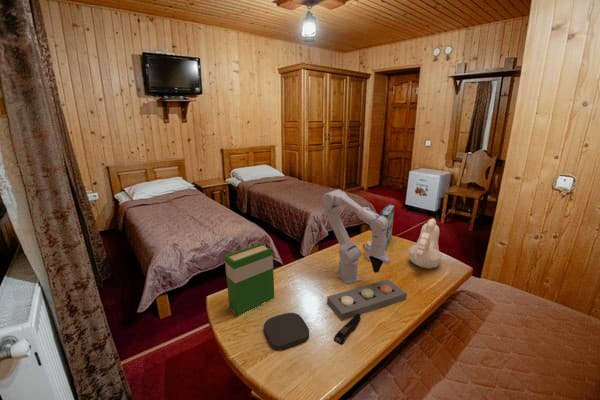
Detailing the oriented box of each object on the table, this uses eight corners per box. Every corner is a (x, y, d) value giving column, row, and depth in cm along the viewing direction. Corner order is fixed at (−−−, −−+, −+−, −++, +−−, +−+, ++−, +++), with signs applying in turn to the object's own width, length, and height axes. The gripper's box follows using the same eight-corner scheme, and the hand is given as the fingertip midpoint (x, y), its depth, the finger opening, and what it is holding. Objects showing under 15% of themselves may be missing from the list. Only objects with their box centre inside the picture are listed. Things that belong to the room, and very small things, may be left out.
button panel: (327, 302, 120) (327, 296, 120) (387, 284, 133) (387, 279, 132) (342, 320, 110) (342, 313, 109) (406, 299, 122) (406, 293, 121)
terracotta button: (377, 290, 126) (377, 286, 125) (386, 288, 128) (386, 283, 127) (385, 297, 122) (385, 292, 121) (394, 294, 124) (394, 289, 123)
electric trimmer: (362, 322, 110) (363, 315, 109) (342, 346, 98) (342, 338, 97) (354, 318, 112) (354, 311, 111) (332, 340, 100) (333, 333, 99)
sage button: (358, 294, 122) (359, 290, 121) (368, 292, 124) (368, 287, 123) (365, 301, 118) (366, 296, 117) (375, 298, 119) (376, 293, 119)
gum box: (383, 238, 183) (386, 204, 177) (391, 239, 181) (395, 205, 174) (376, 250, 167) (378, 213, 160) (384, 252, 164) (387, 214, 158)
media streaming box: (273, 354, 95) (273, 347, 94) (261, 326, 108) (261, 319, 107) (312, 340, 101) (313, 333, 100) (296, 315, 113) (296, 309, 113)
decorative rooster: (417, 253, 162) (421, 212, 155) (445, 263, 151) (452, 219, 144) (394, 269, 146) (398, 224, 139) (424, 281, 135) (431, 233, 128)
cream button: (338, 302, 118) (338, 297, 118) (348, 299, 120) (349, 294, 120) (345, 309, 114) (345, 304, 113) (355, 306, 116) (355, 301, 115)
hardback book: (265, 290, 129) (262, 242, 122) (274, 298, 124) (272, 248, 117) (229, 307, 118) (224, 255, 111) (238, 316, 113) (233, 262, 106)
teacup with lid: (385, 258, 157) (387, 239, 154) (376, 264, 151) (377, 244, 148) (367, 251, 166) (368, 232, 162) (357, 256, 160) (358, 237, 156)
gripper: (397, 249, 118) (394, 277, 122) (375, 236, 131) (373, 262, 135) (383, 252, 115) (380, 281, 119) (362, 238, 128) (361, 265, 132)
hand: (376, 271), depth 127 cm, fingers closed
